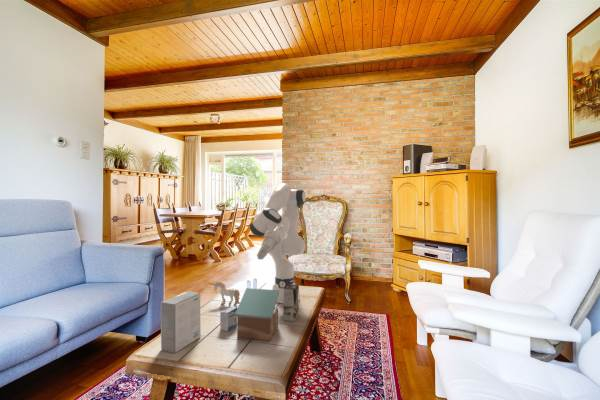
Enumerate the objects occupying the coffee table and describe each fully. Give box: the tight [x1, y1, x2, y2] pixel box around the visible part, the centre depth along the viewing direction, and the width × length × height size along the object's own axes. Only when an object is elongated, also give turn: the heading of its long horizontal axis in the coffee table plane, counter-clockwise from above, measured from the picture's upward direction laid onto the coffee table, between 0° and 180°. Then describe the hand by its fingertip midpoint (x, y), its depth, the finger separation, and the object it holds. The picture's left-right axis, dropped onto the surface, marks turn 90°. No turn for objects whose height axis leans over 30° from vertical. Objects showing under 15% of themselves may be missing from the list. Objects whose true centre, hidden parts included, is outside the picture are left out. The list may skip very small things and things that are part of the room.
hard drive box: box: [160, 290, 202, 354], centre depth 125 cm, size 16×8×20 cm, turn 159°
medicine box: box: [219, 306, 238, 332], centre depth 141 cm, size 8×4×9 cm, turn 158°
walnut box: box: [236, 307, 279, 343], centre depth 135 cm, size 14×15×10 cm
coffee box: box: [283, 284, 300, 322], centre depth 154 cm, size 9×6×16 cm
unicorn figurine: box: [207, 281, 241, 307], centre depth 172 cm, size 7×20×13 cm, turn 82°
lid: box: [236, 287, 279, 319], centre depth 134 cm, size 16×16×1 cm
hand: (263, 252), depth 140 cm, fingers open, 8 cm apart
